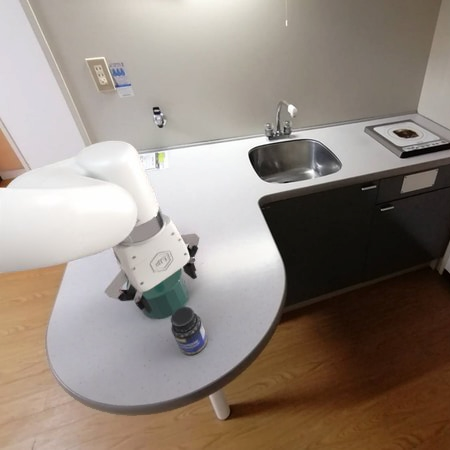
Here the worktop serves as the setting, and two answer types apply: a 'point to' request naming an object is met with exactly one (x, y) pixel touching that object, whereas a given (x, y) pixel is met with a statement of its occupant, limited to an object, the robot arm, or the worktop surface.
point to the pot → (168, 302)
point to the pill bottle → (188, 331)
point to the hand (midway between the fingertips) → (169, 290)
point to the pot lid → (163, 286)
